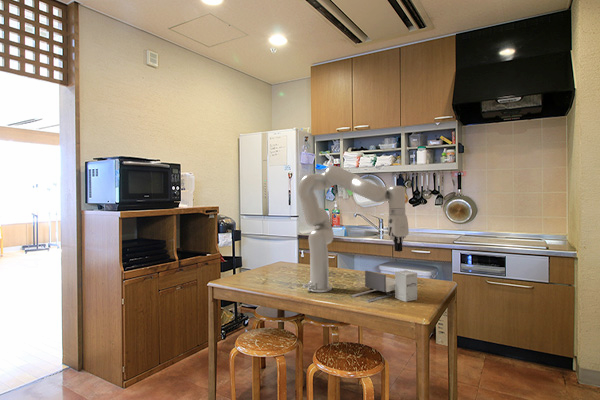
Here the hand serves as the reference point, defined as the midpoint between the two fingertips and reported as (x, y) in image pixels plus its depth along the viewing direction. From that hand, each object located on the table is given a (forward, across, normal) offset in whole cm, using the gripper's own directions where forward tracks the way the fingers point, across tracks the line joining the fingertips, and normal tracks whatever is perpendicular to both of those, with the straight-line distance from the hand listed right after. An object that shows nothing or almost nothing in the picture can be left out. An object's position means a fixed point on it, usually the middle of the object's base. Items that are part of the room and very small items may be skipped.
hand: (398, 251), depth 166 cm
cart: (+21, +2, +11) cm, 24 cm away
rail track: (+22, -2, +11) cm, 25 cm away
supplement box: (+23, +2, -2) cm, 23 cm away
